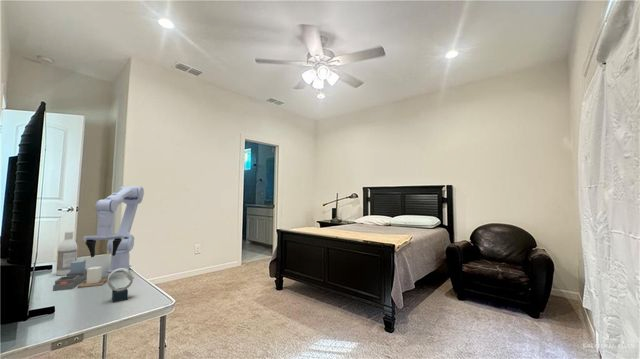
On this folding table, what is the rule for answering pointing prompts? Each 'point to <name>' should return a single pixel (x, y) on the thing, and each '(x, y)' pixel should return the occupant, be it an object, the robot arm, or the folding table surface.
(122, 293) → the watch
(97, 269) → the block
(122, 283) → the folding table surface
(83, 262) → the blue charger
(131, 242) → the robot arm
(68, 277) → the power strip
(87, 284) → the walnut board
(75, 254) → the bath foam
